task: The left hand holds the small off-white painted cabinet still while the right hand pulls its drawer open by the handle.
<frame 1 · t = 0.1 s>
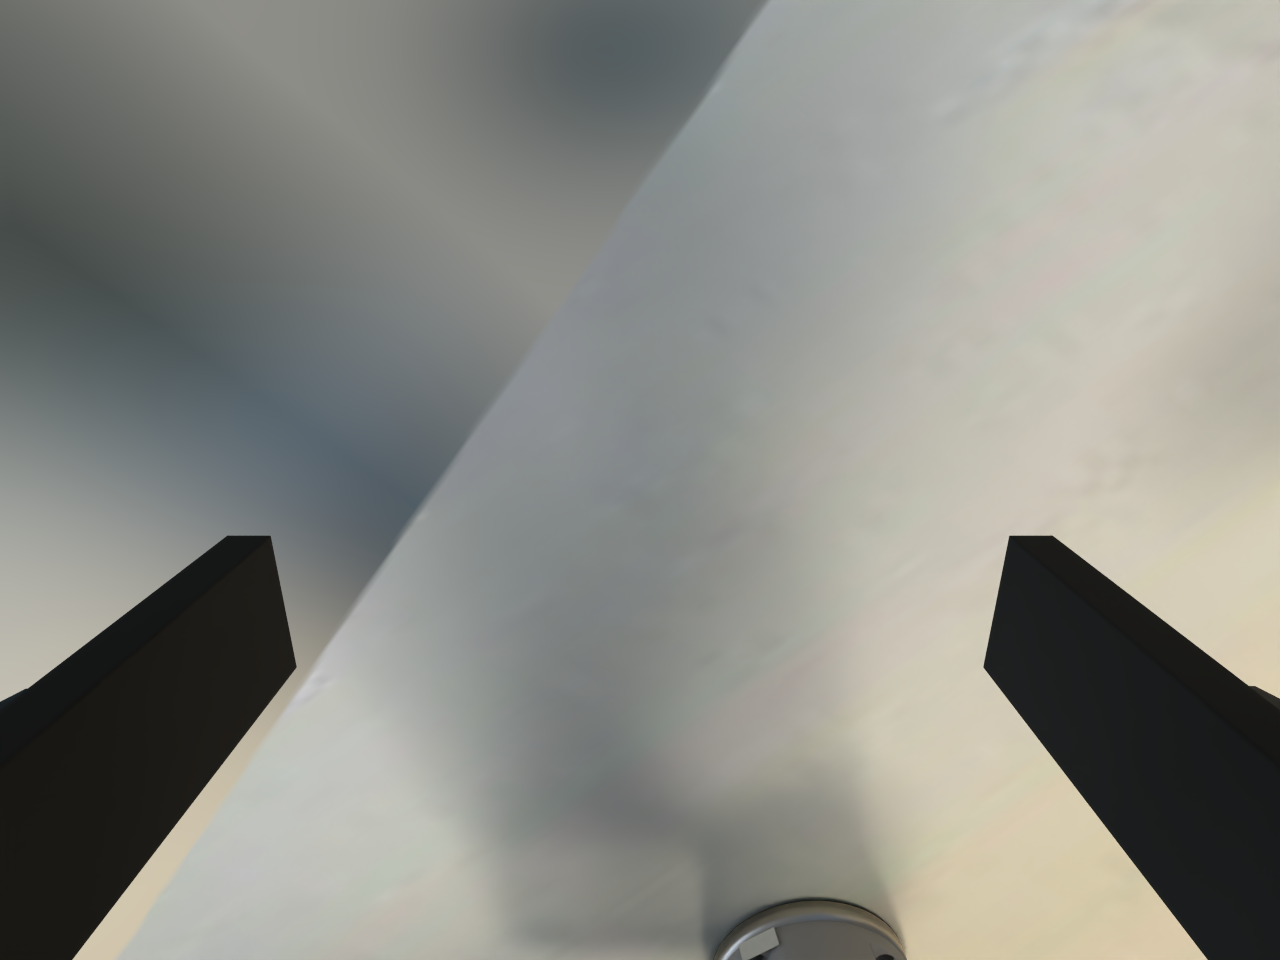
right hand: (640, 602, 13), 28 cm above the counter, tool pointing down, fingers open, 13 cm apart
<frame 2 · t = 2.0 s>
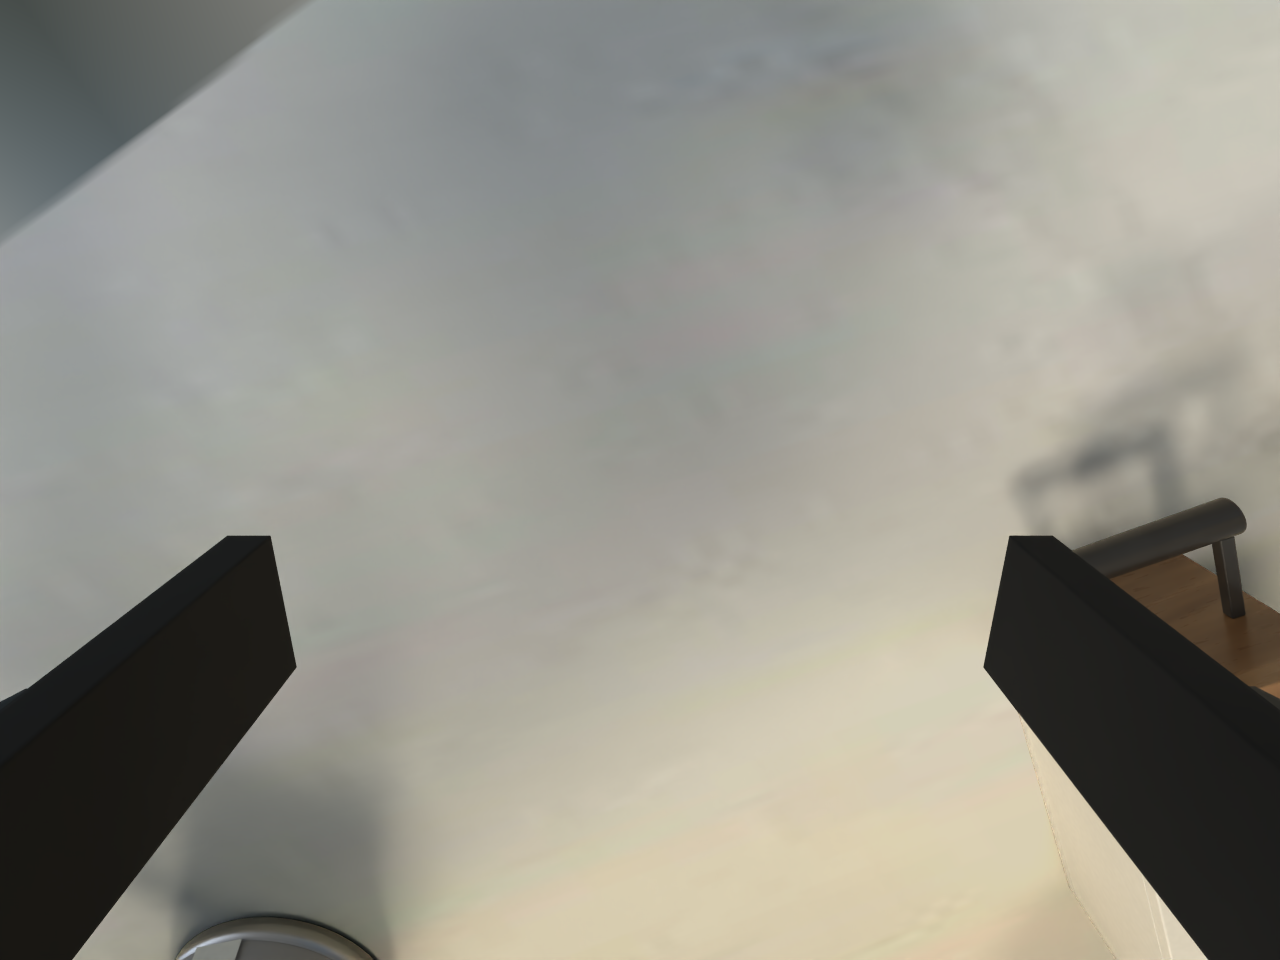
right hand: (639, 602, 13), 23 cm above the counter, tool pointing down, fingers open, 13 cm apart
cabinet: (1120, 748, 42), on the counter
drawer: (1173, 733, 35), point 6 cm above the counter, slide at 1.8 cm
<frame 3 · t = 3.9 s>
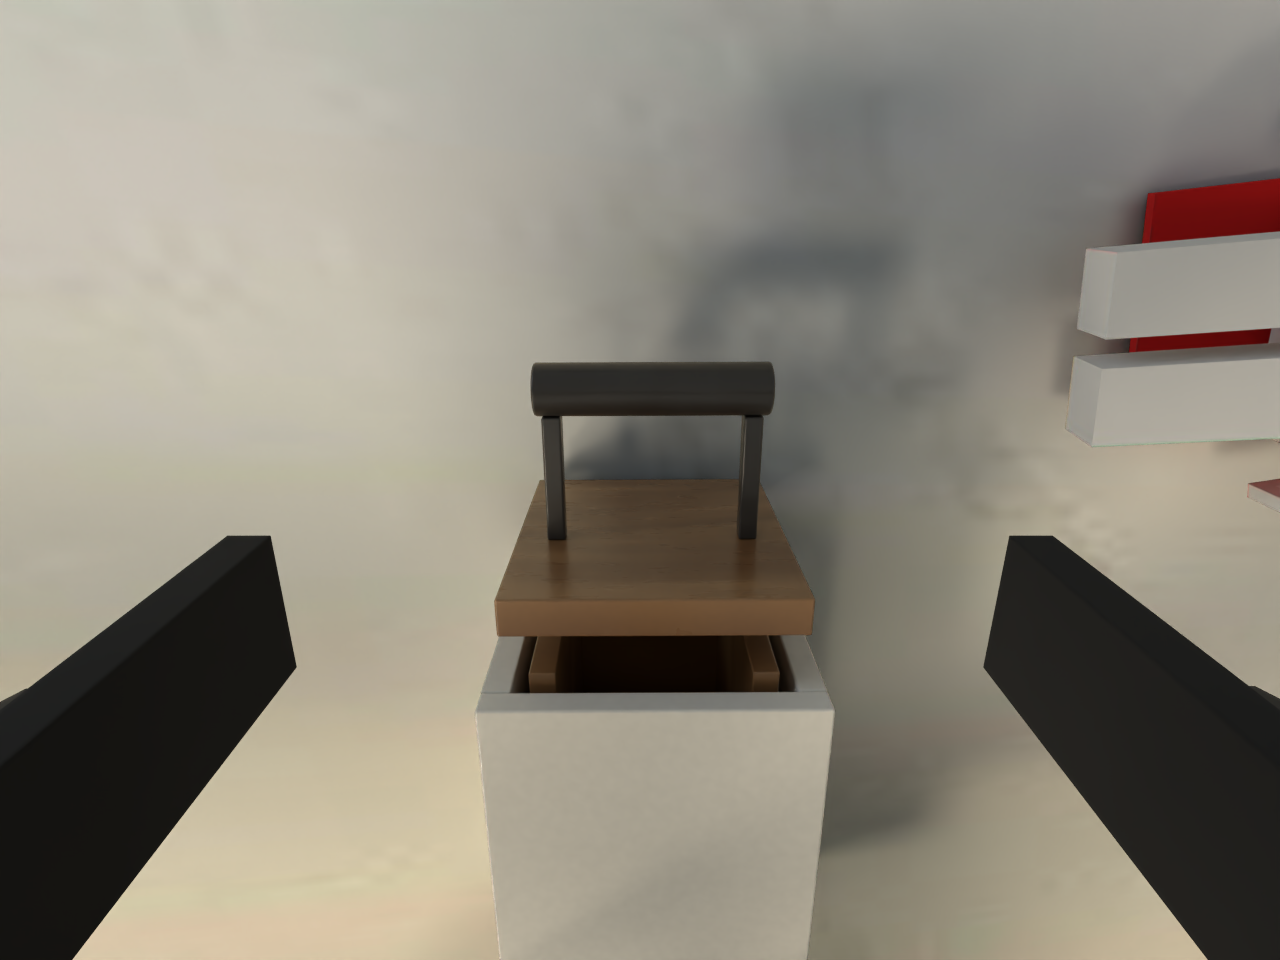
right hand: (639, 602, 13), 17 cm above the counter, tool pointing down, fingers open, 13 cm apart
cabinet: (648, 722, 34), on the counter, touching left hand
drawer: (651, 684, 26), point 6 cm above the counter, slide at 1.8 cm
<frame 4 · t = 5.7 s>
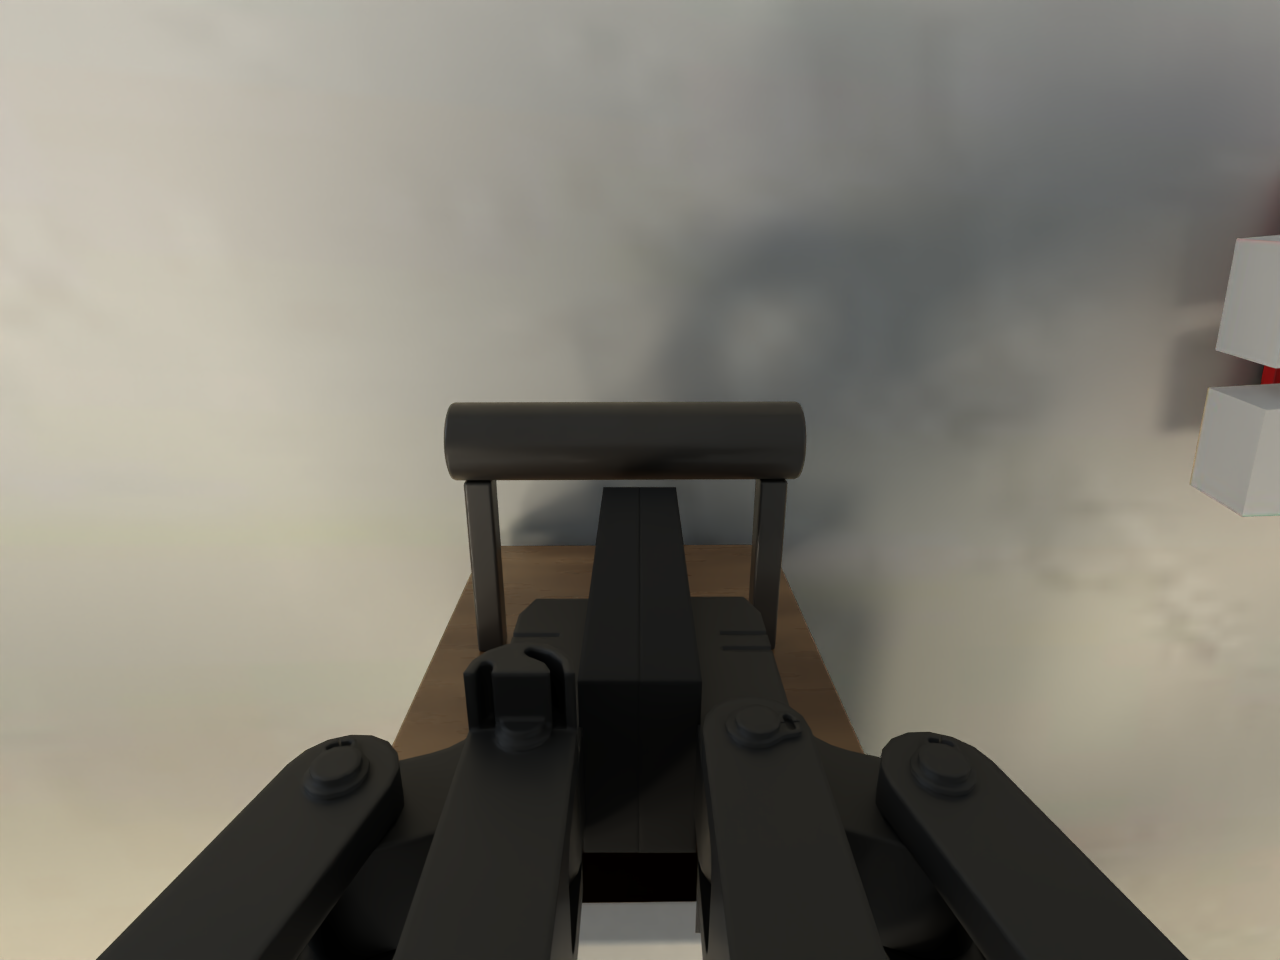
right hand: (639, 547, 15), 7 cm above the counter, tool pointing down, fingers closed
cabinet: (629, 839, 27), on the counter, touching left hand
drawer: (628, 830, 19), point 6 cm above the counter, slide at 1.8 cm, touching right hand
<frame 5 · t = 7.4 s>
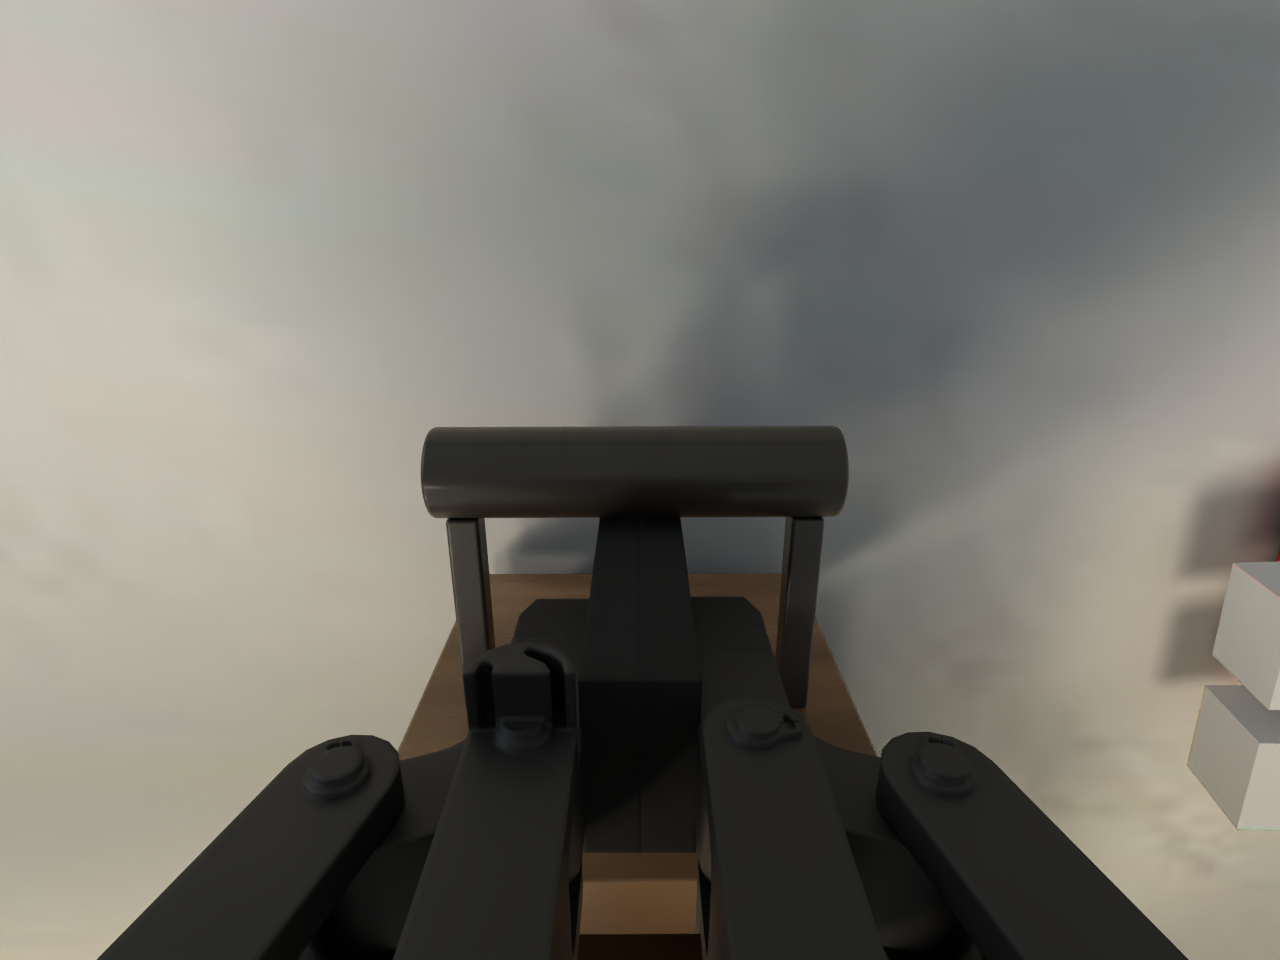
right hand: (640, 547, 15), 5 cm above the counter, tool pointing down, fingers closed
drawer: (637, 896, 17), point 6 cm above the counter, slide at 9.3 cm, touching right hand
when the left hand's fingers open (7 cm above the counter, at t = 9.2 s): cabinet stays where it is, on the counter.
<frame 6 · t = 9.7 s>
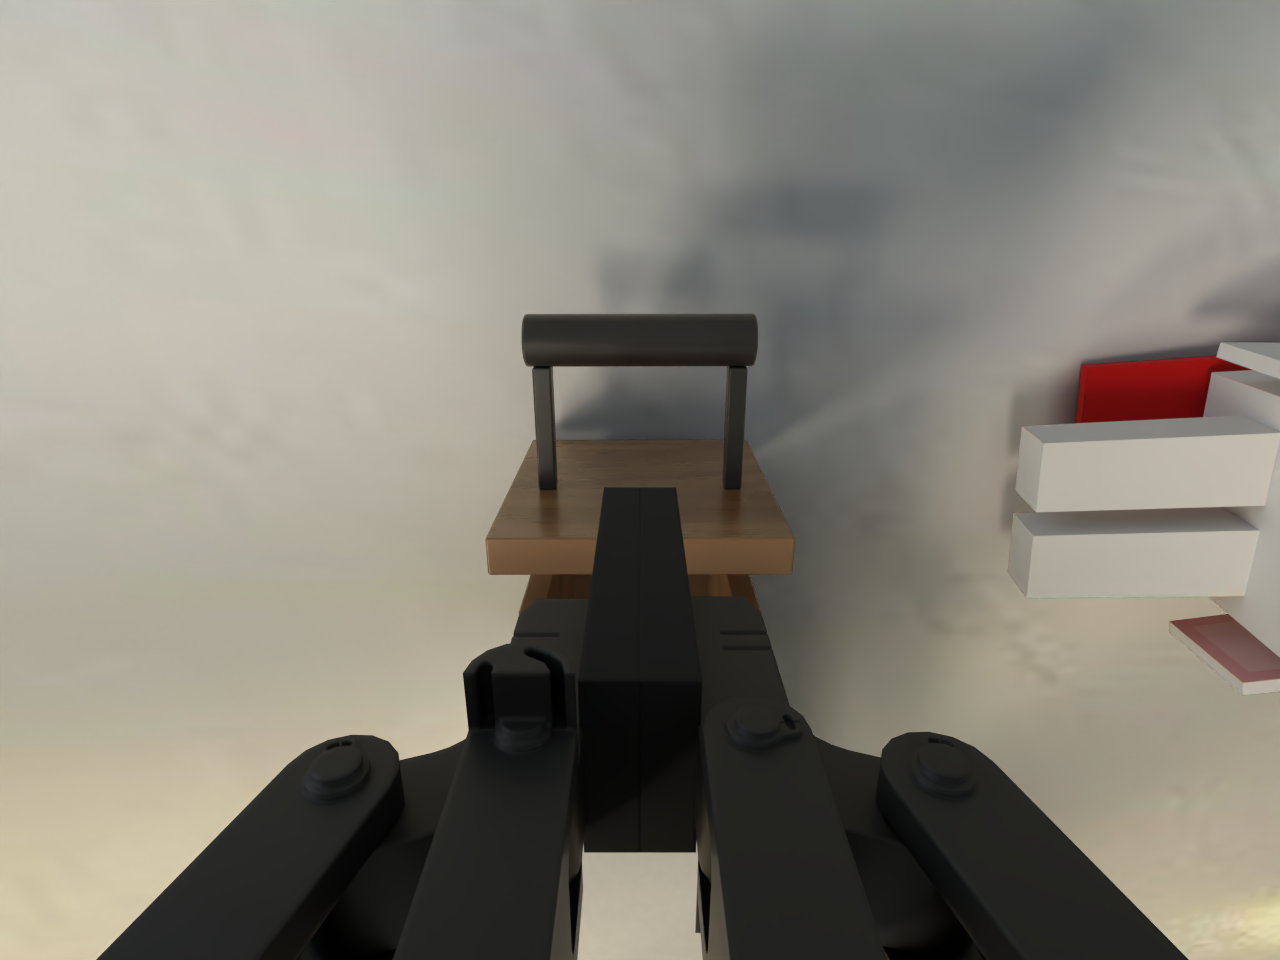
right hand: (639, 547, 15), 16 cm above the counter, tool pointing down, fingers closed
cabinet: (640, 802, 37), on the counter
drawer: (640, 635, 27), point 6 cm above the counter, slide at 9.3 cm
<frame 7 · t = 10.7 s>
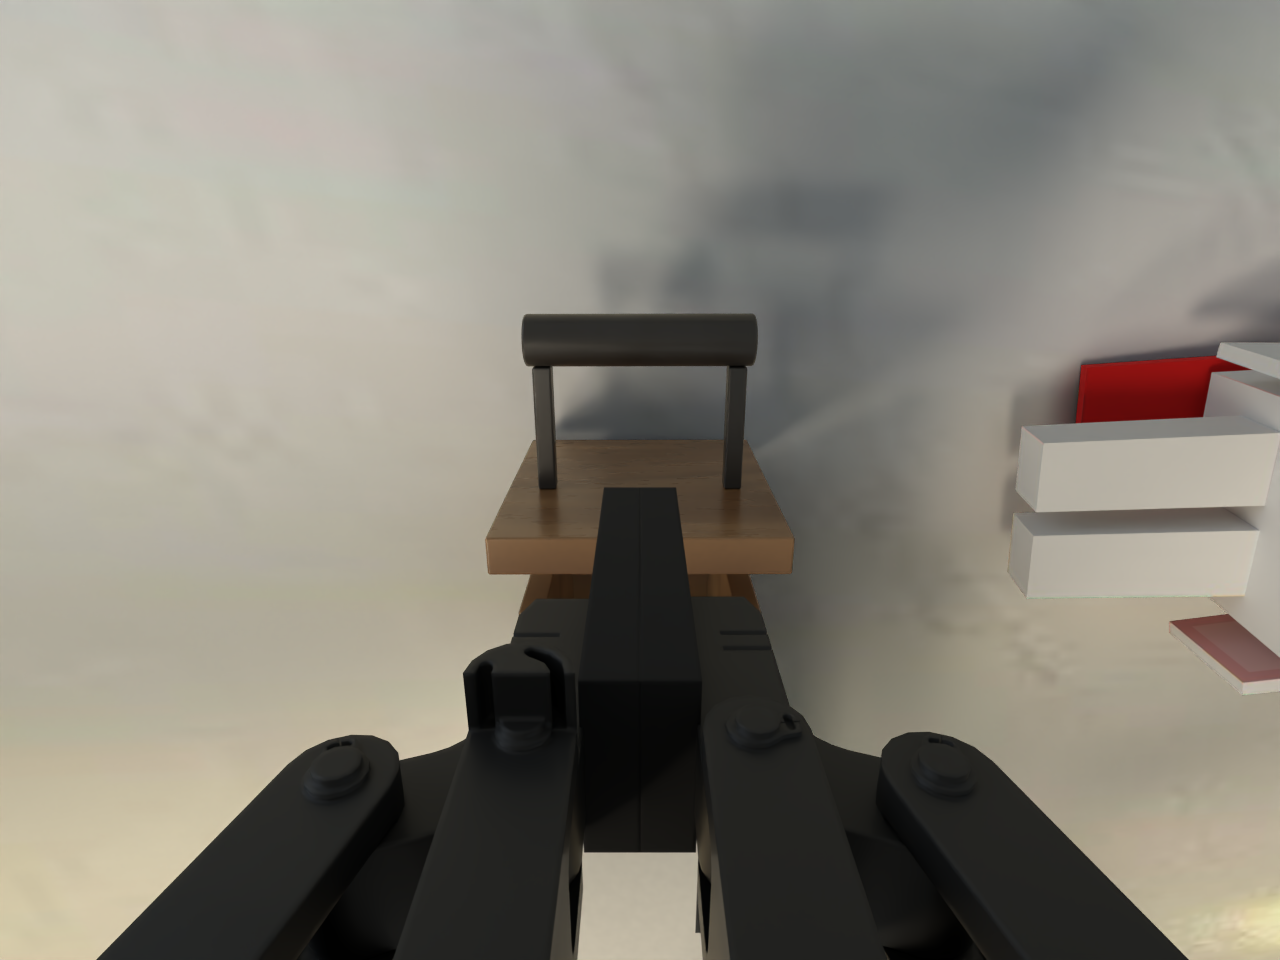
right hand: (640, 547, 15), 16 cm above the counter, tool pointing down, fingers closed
cabinet: (640, 802, 37), on the counter
drawer: (640, 635, 27), point 6 cm above the counter, slide at 9.3 cm
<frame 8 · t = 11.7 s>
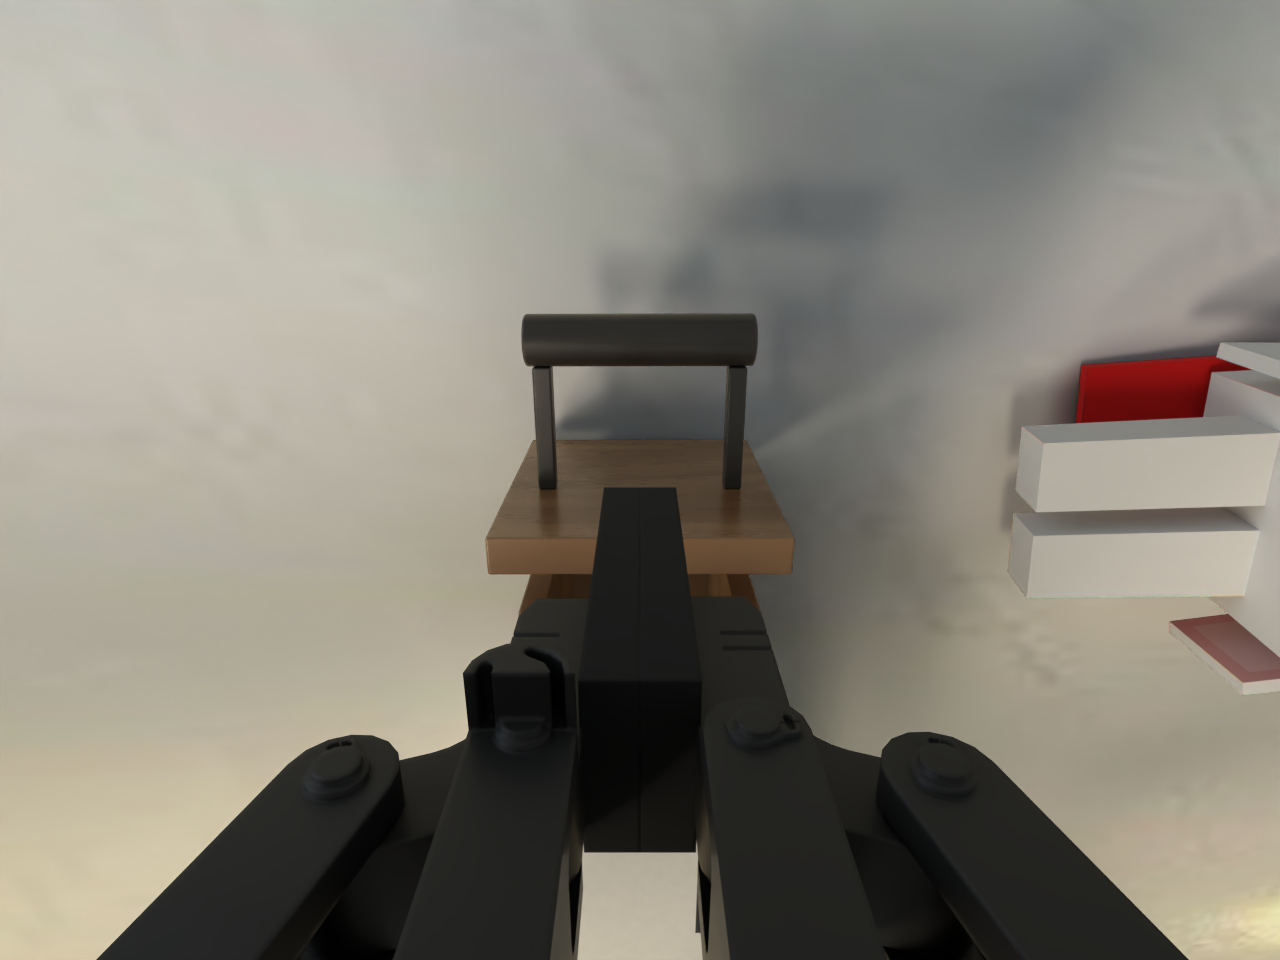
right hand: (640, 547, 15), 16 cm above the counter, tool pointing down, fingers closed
cabinet: (640, 802, 37), on the counter
drawer: (640, 635, 27), point 6 cm above the counter, slide at 9.3 cm
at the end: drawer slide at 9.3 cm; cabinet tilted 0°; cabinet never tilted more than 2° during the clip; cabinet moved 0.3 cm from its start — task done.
